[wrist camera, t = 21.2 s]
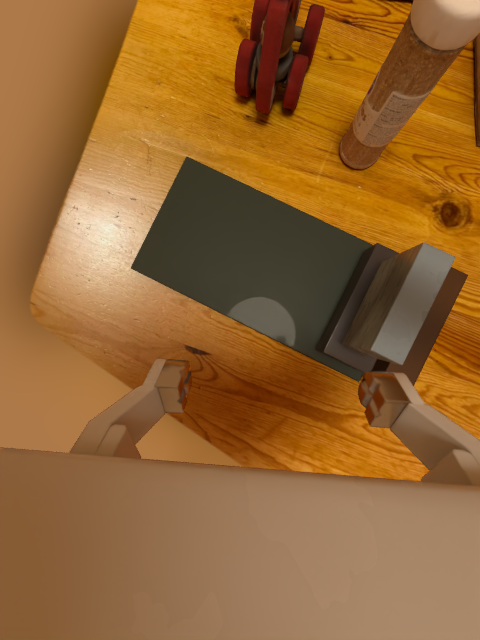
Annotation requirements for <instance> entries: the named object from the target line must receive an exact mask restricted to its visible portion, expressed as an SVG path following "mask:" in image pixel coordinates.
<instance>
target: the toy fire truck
mask: <svg viewBox="0 0 480 640" xmlns="http://www.w3.org/2000/svg"><path fill="white" fill-rule="evenodd" d="M300 4H301V0H255V3H254V7H253V14H252V21H251V31H250V40H249V39H244V40H243V41H242V42H241V44H240V47H239V51H238V56H237V62H236V70H235V91H236V93H237V94H238V95H241V96H245V97H249V96H250V95H251V92H252V90H253V89H254V90H257V92H256V110H257V111H260V112H262V113H265V114H269V112H270V110H271V107H272V103H273V100H274V96H275V93H276V91H277V88H278V86H279V87H282V88H286V89H285V93H284V97H283V103H282V104H283V106H284V107H285V108H289V109H292V110H293V109H295V108H296V105H297V102H298V99H299V95H300V92H301V88H302V85H303V81H304V77H305V74H306V70H307V66H309V65H310V64H311V61H312V58H313V54H314V51H315V47H316V43H317V40H318V36H319V32H320V28H321V25H322V21H323V17H324V12H325V9H324V7H323V6H319V5H315V4H313V5H311V6H310V9H309V12H308V16H307V20H306V24H305V27H304V28H303V27H300V26H295V24H296V20H297V17H298V13H299V8H300ZM293 41H297V42H301V44H300V48H299V52H298V54H295V56H294V58H292V57H293V51H292V47H291V45H292V43H293Z"/></svg>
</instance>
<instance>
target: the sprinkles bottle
mask: <svg viewBox="0 0 480 640" xmlns="http://www.w3.org/2000/svg"><path fill="white" fill-rule="evenodd" d="M479 33H480V0H414V1H413V4H412V8H411V12H410V14H409V16H408V19H407V21H406V22H405V24H404V27H403V28H402V30H401V32H400V34H399V36H398V38H397V39H396V41H395V43H394V45H393V47H392V49H391V51H390V53H389V55H388V56H387V58H386V60H385V62H384V63H383V65H382V66H381V68H380V70H379V72H378V74H377V76H376V78H375V80H374V82H373V84H372V85H371V87H370V89H369V91H368V93H367V95H366V97H365V98H364V100H363V102H362V104H361V106H360V108H359V109H358V111H357V113H356V115H355V118H354V120H353V122H352V124H351V126H350V128H349V130H348V131H347V133H346V134H345V135H344V137H343V138H342V141H341V143H340V148H339V149H340V155H341V159H342V160H343V161H344V163H345V164H347V165H348V166H349V167H352V168H354V169H365V168H367V167H370V166H371V165H373V164H374V163H375V162H376V161H377V159H378V158H379V156H380V153H381V152H382V151H383V150H384V149H385V147H386V146H387V145H388V143H389V142H391V141H392V140H393V138H394V137H395V136H396V135H397V133H398V132H399V131H400V130H401V128H402V127H403V126H404V125H405V123H406V122H407V121H408V120H409V118H410V117H411V116H412V115H413V113H414V112H415V111H416V110H417V108H418V107H419V106H420V105H421V103H422V102H423V101H424V100H425V98H426V97H427V96H428V94H429V93H430V92H431V91H432V89H433V88H434V87H435V85H436V84H437V82H438V81H439V79H440V78H441V77H442V75H443V74H444V73H445V72H446V70H447V69H448V67H449V66H450V65H451V64H452V63H453V61H454V60H455V59H456V58H457V56H458V55H459V54H460V52H461V51H462V50H463V48H464V47H465V46H466V45H467V44H468V43H470V42H471V41H472V40H473V39H474V38H475V37H476V36H477V35H478V34H479Z"/></svg>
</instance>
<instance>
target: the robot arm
mask: <svg viewBox="0 0 480 640" xmlns="http://www.w3.org/2000/svg"><path fill="white" fill-rule="evenodd" d="M189 368H190V363H189V361H185V360H173V359H159V358H157V359H156V360H155V361H154V363H153V365H152V367H151V369H150V371H149V373H148V375H147V377H146V379H145V381H144V383H143V385H142V386H138V387H136V388H135V389H134V390H132V391H131V392H130V393H128V394H127V395H125V396H124V397H122V398H121V399H120V400H118V401H117V402H115V403H114V404H113V405H111V406H110V407H108V408H107V409H106V410H104V411H103V412H101V413H100V414H99V415H98V416H96V417H94V418H93V419H92V420H90V421H89V422H88V424H87V425H86V427H85V429H84V430H83V432H82V433H81V435H80V436H79V438H78V440H77V441H76V443H75V445H74V446H73V448H72V449H71V451H70V453H63V452H50V451H38V450H25V449H14V448H2V447H1V448H0V640H480V440H478V439H477V438H475V437H474V436H473V435H471V434H470V433H468V432H467V431H466V430H464V429H463V428H461V427H460V426H458V425H457V424H456V423H454V422H453V421H451V420H450V419H449V418H447V417H446V416H444V415H443V414H441V413H440V412H439V411H437V410H436V409H434V408H433V407H432V406H430V405H426V404H425V403H424V402H423V400H422V398H421V397H420V395H419V394H418V392H417V391H416V389H415V388H414V386H413V385H412V383H411V382H410V380H409V379H408V377H407V376H406V375H405V374H404V373H396V372H377V371H367V372H366V373H365V375H364V379H365V381H363V382H361V383H360V385H359V388H358V396H359V400H360V403H361V404H362V405H363V406H364V407H365V408H366V410H365V412H364V413H365V415H366V418H367V420H368V423H369V425H370V426H371V427H382V428H390V430H391V431H392V432H393V433H394V434H395V435H396V436H397V437H398V438H399V439H400V440H401V441H402V442H403V443H404V444H405V445H406V446H407V447H408V449H409V450H410V451H411V452H412V453H413V454H414V455H415V456H416V457H417V458H418V459H419V460H420V461H421V462H422V463H423V464H424V465H425V466H426V467H427V468H428V469H429V470H430V471H429V472H427V473H426V474H425V475H424V476H423V477H422V479H421V481H409V480H397V479H385V478H373V477H360V476H348V475H336V474H324V473H311V472H299V471H287V470H274V469H262V468H249V467H235V466H224V465H212V464H199V463H187V462H174V461H162V460H150V459H141V456H140V454H139V452H138V450H137V448H136V446H135V444H136V443H137V442H138V441H139V440H140V439H141V438H142V437H143V436H144V435H145V434H146V433H147V432H148V431H149V430H150V429H151V428H152V427H153V426H154V424H155V423H157V422H158V421H159V419H160V418H161V417H162V416H163V415H164V414H165V413H184V409H185V406H186V403H187V397H186V395H187V394H188V393H189V392H190V389H191V383H192V374H191V372H190V371H189Z"/></svg>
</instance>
